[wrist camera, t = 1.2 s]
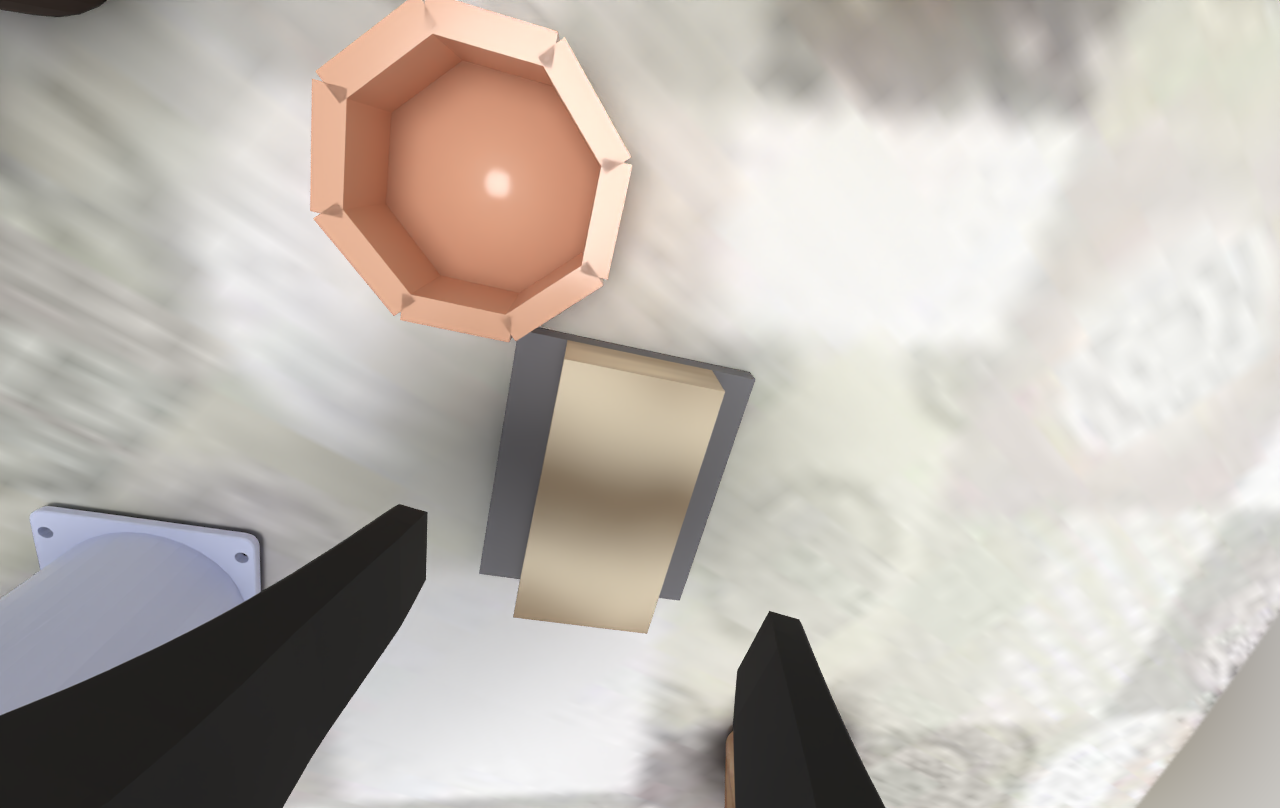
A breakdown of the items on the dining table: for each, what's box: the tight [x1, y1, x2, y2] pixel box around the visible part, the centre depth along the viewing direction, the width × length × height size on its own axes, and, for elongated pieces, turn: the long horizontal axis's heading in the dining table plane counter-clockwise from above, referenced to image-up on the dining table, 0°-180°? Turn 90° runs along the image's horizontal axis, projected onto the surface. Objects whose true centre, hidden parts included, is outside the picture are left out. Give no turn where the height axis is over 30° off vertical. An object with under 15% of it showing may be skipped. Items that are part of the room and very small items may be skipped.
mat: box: [479, 327, 755, 600], centre depth 22 cm, size 11×9×1 cm
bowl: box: [310, 0, 632, 342], centre depth 16 cm, size 8×8×4 cm
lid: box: [513, 340, 725, 634], centre depth 21 cm, size 11×6×2 cm, turn 166°
